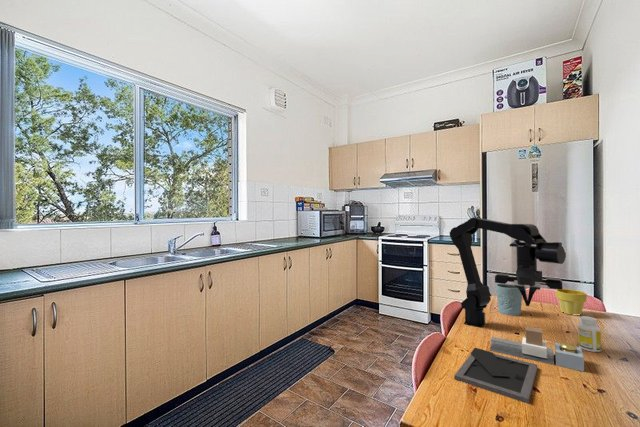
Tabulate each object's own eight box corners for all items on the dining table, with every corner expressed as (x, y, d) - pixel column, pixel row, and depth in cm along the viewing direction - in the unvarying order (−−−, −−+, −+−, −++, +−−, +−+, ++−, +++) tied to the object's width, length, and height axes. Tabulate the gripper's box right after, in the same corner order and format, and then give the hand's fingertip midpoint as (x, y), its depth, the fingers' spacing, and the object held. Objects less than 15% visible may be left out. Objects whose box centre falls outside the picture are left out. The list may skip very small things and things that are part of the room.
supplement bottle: (595, 346, 97) (594, 316, 97) (605, 353, 92) (604, 321, 92) (575, 344, 99) (574, 314, 99) (583, 351, 94) (582, 320, 94)
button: (561, 359, 86) (560, 346, 86) (560, 354, 89) (560, 341, 89) (577, 362, 84) (577, 349, 84) (576, 358, 86) (575, 344, 87)
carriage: (522, 353, 90) (521, 330, 90) (523, 346, 95) (522, 324, 95) (546, 359, 87) (546, 334, 87) (546, 351, 92) (546, 328, 92)
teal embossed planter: (495, 313, 132) (495, 286, 132) (497, 307, 140) (496, 282, 140) (523, 317, 126) (522, 289, 126) (523, 311, 134) (522, 285, 134)
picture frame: (474, 353, 94) (454, 381, 78) (474, 347, 94) (454, 373, 78) (537, 370, 83) (528, 406, 67) (537, 363, 83) (528, 397, 67)
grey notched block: (556, 365, 85) (555, 351, 85) (555, 355, 91) (554, 342, 91) (584, 371, 81) (583, 357, 81) (581, 360, 87) (580, 347, 88)
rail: (490, 350, 95) (489, 342, 95) (493, 342, 101) (493, 334, 101) (553, 364, 85) (553, 355, 85) (553, 354, 91) (552, 346, 91)
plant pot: (592, 318, 124) (592, 294, 125) (563, 316, 127) (562, 293, 127) (578, 311, 134) (578, 289, 134) (552, 309, 137) (551, 288, 137)
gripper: (492, 260, 101) (493, 306, 101) (562, 265, 90) (564, 317, 90) (496, 257, 110) (497, 299, 110) (560, 261, 99) (562, 308, 99)
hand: (527, 305), depth 102 cm, fingers closed
